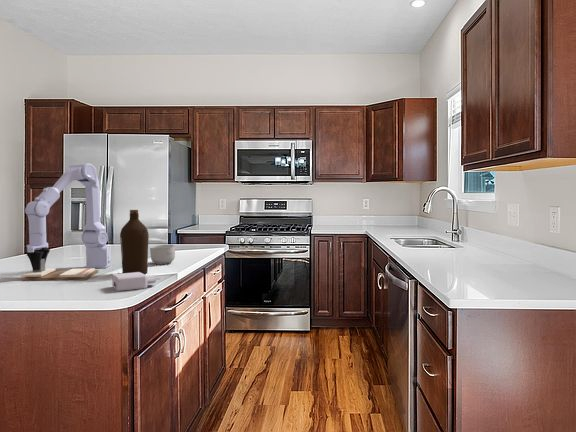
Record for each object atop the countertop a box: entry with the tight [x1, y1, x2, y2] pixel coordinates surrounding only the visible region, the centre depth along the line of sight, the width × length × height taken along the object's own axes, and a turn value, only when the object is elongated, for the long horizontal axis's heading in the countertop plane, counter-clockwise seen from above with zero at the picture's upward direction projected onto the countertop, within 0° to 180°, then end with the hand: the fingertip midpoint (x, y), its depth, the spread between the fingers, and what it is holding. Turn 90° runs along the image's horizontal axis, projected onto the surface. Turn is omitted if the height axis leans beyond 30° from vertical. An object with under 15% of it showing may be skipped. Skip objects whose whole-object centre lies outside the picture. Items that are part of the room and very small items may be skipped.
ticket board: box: [22, 269, 99, 282], centre depth 187 cm, size 22×16×1 cm
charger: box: [111, 272, 162, 292], centre depth 167 cm, size 5×9×15 cm
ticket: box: [59, 268, 96, 277], centre depth 187 cm, size 9×14×1 cm, turn 6°
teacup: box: [149, 244, 176, 265], centre depth 221 cm, size 14×11×8 cm
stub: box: [20, 259, 57, 278], centre depth 186 cm, size 7×14×5 cm, turn 6°
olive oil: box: [119, 209, 149, 275], centre depth 193 cm, size 11×11×25 cm
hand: (38, 269), depth 186 cm, fingers closed on stub, 4 cm apart
